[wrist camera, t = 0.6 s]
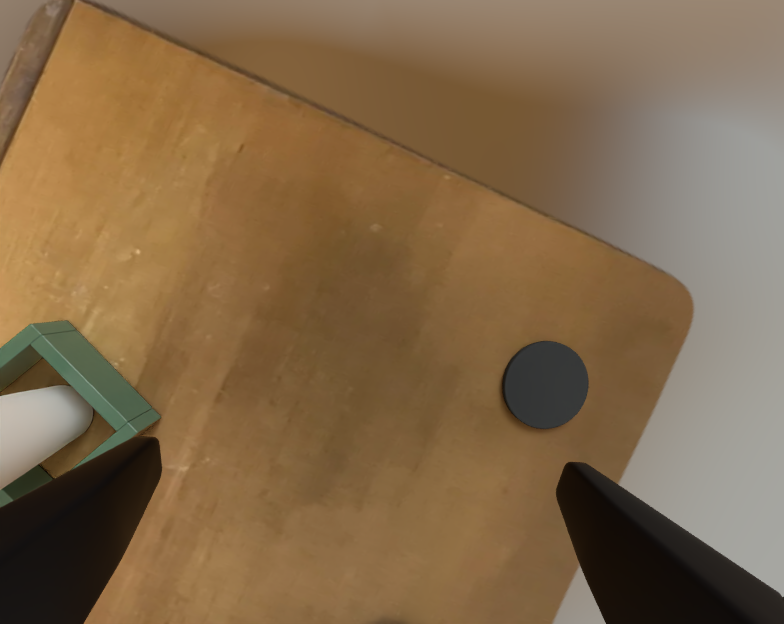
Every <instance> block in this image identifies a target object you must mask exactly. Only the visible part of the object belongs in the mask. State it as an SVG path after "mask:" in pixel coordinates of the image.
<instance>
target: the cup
mask: <svg viewBox="0 0 784 624" xmlns="http://www.w3.org/2000/svg"><path fill="white" fill-rule="evenodd" d="M92 418H93V408H92V406H91V405H90V404H89V403H88V402H87V401H86V400H85V399H84V398H83V397H82V396H81V395H80V394H79V393H78V392H77V391H76V390H75V389H74V388H73V387H72V386H67V385H57V386H52V387H46V388H41V389H36V390H29V391H24V392H18V393H13V394H8V395H3V396H0V490H1V489H2V488H4V487H5V486H7V485H8V484H10V483H11V482H13V481H14V480H16V479H17V478H19V477H20V476H22V475H23V474H25V473H26V472H28V471H29V470H31V469H32V468H33V467H35V466H36V465H38V464H39V463H41V462H42V461H44V460H45V459H47V458H48V457H50V456H51V455H53V454H54V453H56V452H57V451H59V450H60V449H62V448H63V447H64V446H66V445H67V444H68V443H70V442H71V441H73V440H74V439H76V438H77V437H79V436H80V435H82V434H83V433H84V432H85V431H86V430H87V429H88V427H89V426H90V424H91V422H92Z"/></svg>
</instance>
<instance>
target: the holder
mask: <svg viewBox="0 0 784 624" xmlns="http://www.w3.org/2000/svg"><path fill="white" fill-rule="evenodd" d="M42 358H44V359H45V360H46V361H47V362H48V363H49V364H50V365H51V366H52V367H53V368H54V369H55V370H56V371H57V372H58V373H59V374H60V375H61V376H62V377H63V378H64V379H65V380H66V381H67V382H68V383H69V384H70V385H71V386H72V387H73V388H74V389H75V390H76V391H77V392H78V393H79V394H80V395H81V396H82V397H83V398H84V399H85V400H86V401H87V402H88V403H89V404H90V405H91V406H92V407H93V408H94V409H95V410H96V411H97V412H98V413H99V414H100V415H101V416H102V417H103V418H104V419H105V420H106V421H107V422H108V423H109V424H110V425H111V426H112V427H113V428H114V429H115V430H116V431H117V432H116V433H114V434H113V435H112V436H111V437H110V438H108V439H107V440H106V441H105V442H104V443H102V444H101V445H100V446H99V447H98V448H96V449H95V450H94V451H93V452H92V453H90V454H89V455H88V456H87V457H86V458H84V459H83V460H82V461H81V462H80V463H78V464H77V465H76V466H75V467H74V468H76V467H78V466H80V465H81V464H83V463H85V462H87V461H89V460H91V459H93V458H95V457H97V456H98V455H100V454H102V453H104V452H106V451H108V450H110V449H112V448H114V447H115V446H117V445H119V444H121V443H123V442H125V441H127V440H129V439H131V438H133V437H136V436H140V435H141V434H142V433H144V432H145V431H146V430H147V429H148V428H150V427H151V426H152V425H153V424H154V423H156V422H157V421H158V420H159V419H160V418H161V416H160V415H159V414H158V413H157V412H156V411H155V410H154V409H152V407H151V406H150V405H149V404H148V403H147V402H146V401H145V400H144V399H143V398H142V397H141V396H140V395H139V394H138V392H137V391H136V390H135V389H134V388H133V387H132V386H131V385H130V384H129V383H128V382H127V381H126V380H125V379H124V378H123V377H122V376H121V375H120V374H119V373H118V372H117V371H116V370H115V369H114V368H113V367H112V366H111V365H110V364H109V363H108V362H107V361H106V360H105V359H104V358H103V357H102V356H101V354H100V353H99V352H98V351H97V350H96V349H95V348H94V347H93V346H92V345H91V344H90V343H89V342H88V341H87V340H86V339H85V338H84V337H83V336H82V335H81V334H80V333H79V332H78V331H77V330H76V329H75V328H74V327H73V326H72V325H71V324H70V323H69V322H68V321H67V320H65V321H55V322H44V323H34V324H30V325H28V326H27V327H26V328H25V329H23V330H22V331H21V332H20V333H19V334H17V335H16V336H15V337H14V338H12V339H11V340H10V341H9V342H7V343H6V344H5V345H4V346H2V347H1V348H0V392H1V391H2V390H4V389H5V388H6V387H7V386H9V385H10V384H11V383H12V382H13V381H15V380H16V379H17V378H18V377H20V376H21V375H22V374H23V373H24V372H26V371H27V370H28V369H29V368H31V367H32V366H33V365H34V364H36V363H37V362H38V361H39V360H40V359H42ZM74 468H72V469H74ZM72 469H71V470H72ZM51 480H53V479H52V478H51V477H50V476H49V475H48V474H47V473H46V472H45V471H44V470H43V469H42V468H41V467H40V466H39V465H36V466H35V467H33V468H32V469H31V470H29V471H28V472H26V473H25V474H23V475H22V476H20V477H19V478H17V479H16V480H14V481H13V482H11V483H10V484H8V485H7V486H5V487H4V488H2V489H1V490H0V507H2V506H4V505H6V504H8V503H10V502H12V501H14V500H15V499H17V498H19V497H21V496H23V495H25V494H27V493H29V492H31V491H32V490H34V489H36V488H38V487H40V486H42V485H44V484H46V483H48V482H49V481H51Z"/></svg>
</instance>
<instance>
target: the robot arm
mask: <svg viewBox="0 0 784 624" xmlns="http://www.w3.org/2000/svg"><path fill="white" fill-rule="evenodd" d="M161 473H162V463H161V454H160V444H159V441H158V439H157V438H155V437H145V436H136V437H133V438H131V439H129V440H127V441H125V442H123V443H121V444H119V445H117V446H115V447H114V448H112V449H110V450H108V451H106V452H104V453H102V454H100V455H98V456H97V457H95V458H93V459H91V460H89V461H87V462H85V463H83V464H81V465H80V466H78V467H76V468H74V469H72V470H70V471H68V472H66V473H65V474H63V475H61V476H59V477H57V478H55V479H53V480H51V481H49V482H48V483H46V484H44V485H42V486H40V487H38V488H36V489H34V490H32V491H31V492H29V493H27V494H25V495H23V496H21V497H19V498H17V499H15V500H14V501H12V502H10V503H8V504H6V505H4V506H2V507H0V624H83V623H84V622H85V620H86V618H87V617H88V615H89V613H90V612H91V610H92V608H93V607H94V605H95V603H96V602H97V600H98V598H99V597H100V595H101V593H102V591H103V590H104V588H105V586H106V585H107V583H108V581H109V580H110V578H111V576H112V575H113V573H114V571H115V570H116V568H117V566H118V564H119V563H120V561H121V559H122V557H123V555H124V553H125V551H126V549H127V547H128V545H129V543H130V541H131V539H132V537H133V535H134V533H135V531H136V529H137V526H138V524H139V522H140V520H141V518H142V516H143V514H144V512H145V510H146V508H147V505H148V503H149V501H150V499H151V497H152V495H153V493H154V491H155V489H156V487H157V484H158V482H159V480H160V477H161ZM556 497H557V501H558V504H559V507H560V510H561V513H562V515H563V518H564V521H565V524H566V527H567V530H568V533H569V535H570V538H571V541H572V544H573V547H574V550H575V552H576V555H577V558H578V561H579V563H580V566H581V568H582V571H583V573H584V576H585V578H586V580H587V583H588V585H589V587H590V589H591V592H592V594H593V596H594V598H595V600H596V603H597V605H598V607H599V609H600V611H601V614H602V616H603V618H604V620H605V622H606V624H784V597H782V596H781V595H780V593H778V592H777V591H776V590H774V589H773V588H771V587H769V586H768V585H766V584H765V583H764V582H762V581H761V580H759V579H757V578H756V577H755V576H753V575H752V574H750V573H749V572H747V571H746V570H744V569H743V568H741V567H740V566H738V565H737V564H735V563H734V562H732V561H731V560H729V559H728V558H726V557H725V556H723V555H722V554H720V553H719V552H717V551H716V550H714V549H713V548H712V547H710V546H708V545H707V544H706V543H704V542H702V541H701V540H700V539H698V538H697V537H695V536H694V535H692V534H691V533H689V532H688V531H686V530H685V529H683V528H682V527H680V526H679V525H677V524H676V523H674V522H673V521H671V520H670V519H668V518H667V517H665V516H664V515H662V514H661V513H659V512H658V511H656V510H655V509H653V508H652V507H650V506H649V505H648V504H646V503H645V502H643V501H642V500H640V499H639V498H637V497H636V496H634V495H633V494H631V493H630V492H628V491H627V490H625V489H624V488H622V487H621V486H619V485H618V484H616V483H615V482H613V481H612V480H610V479H609V478H607V477H606V476H604V475H603V474H601V473H600V472H598V471H597V470H595V469H594V468H592V467H591V466H589V465H588V464H586V463H581V462H568V463H567V464H566V465H565V466H564V469H563V472H562V474H561V477H560V480H559V482H558V485H557V488H556Z"/></svg>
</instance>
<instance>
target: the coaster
mask: <svg viewBox="0 0 784 624" xmlns="http://www.w3.org/2000/svg"><path fill="white" fill-rule="evenodd" d="M587 392H588V374H587V370H586V368H585V365H584V363H583V361H582V360H581V358H580V357H579V356H578V355H577V353H576V352H574V351H573V350H572V349H571V348H569V347H567V346H565V345H563V344H560V343H556V342H551V341H541V342H536V343H532V344H530V345H528V346H526V347H524V348H523V349H521V350H520V351H519V352H518V353H517V354H516V355H515V356H514V357H513V358H512V359H511V361H510V362H509V364H508V366H507V368H506V370H505V373H504V377H503V395H504V399H505V402H506V404H507V406H508V408H509V410H510V411H511V412H512V414H513V415H514V416H515V417H516V418H518V419H519V420H520V421H521V422H523V423H525V424H526V425H529V426H531V427H535V428H540V429H549V428H554V427H558V426H560V425H563V424H565V423H566V422H568V421H569V420H571V419H572V418H573V417H574V416H575V415H576V414H577V413H578V412H579V410H580V409H581V407H582V406H583V404H584V402H585V399H586V396H587Z"/></svg>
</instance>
